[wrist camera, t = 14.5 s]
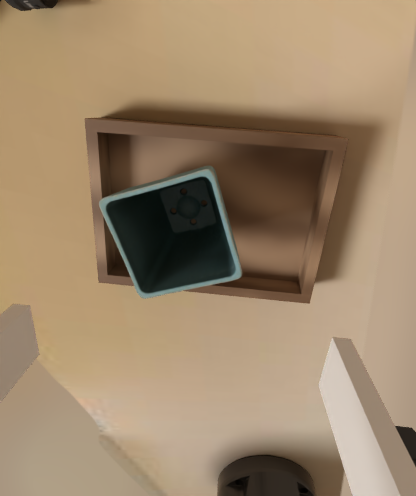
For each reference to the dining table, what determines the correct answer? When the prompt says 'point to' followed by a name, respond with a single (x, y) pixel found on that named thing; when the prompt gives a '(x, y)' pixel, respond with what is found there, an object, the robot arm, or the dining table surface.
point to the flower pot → (173, 233)
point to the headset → (31, 4)
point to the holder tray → (228, 195)
